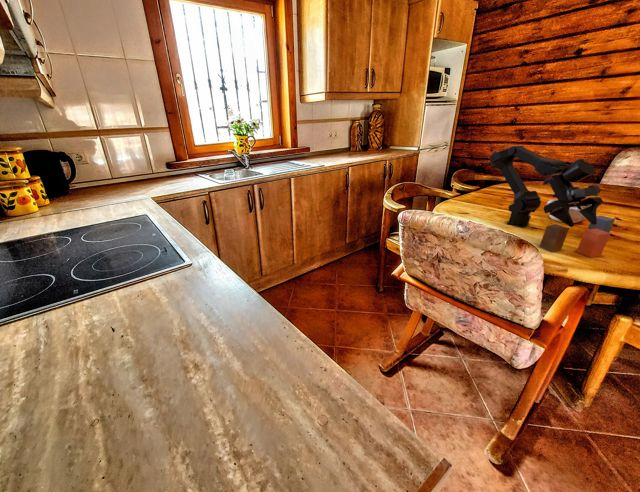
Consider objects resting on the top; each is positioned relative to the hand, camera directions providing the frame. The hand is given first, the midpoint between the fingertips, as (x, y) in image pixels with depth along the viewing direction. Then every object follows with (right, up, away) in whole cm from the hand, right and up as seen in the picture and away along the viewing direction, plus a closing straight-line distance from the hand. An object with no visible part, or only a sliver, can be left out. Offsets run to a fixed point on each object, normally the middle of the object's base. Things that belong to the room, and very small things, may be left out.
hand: (583, 225), depth 102 cm
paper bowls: (+21, +3, +29) cm, 36 cm away
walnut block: (-8, -9, +4) cm, 13 cm away
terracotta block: (+1, -10, 0) cm, 10 cm away
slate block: (+15, -5, +10) cm, 19 cm away
